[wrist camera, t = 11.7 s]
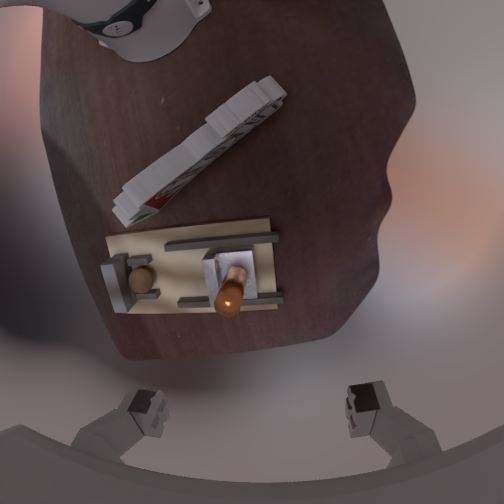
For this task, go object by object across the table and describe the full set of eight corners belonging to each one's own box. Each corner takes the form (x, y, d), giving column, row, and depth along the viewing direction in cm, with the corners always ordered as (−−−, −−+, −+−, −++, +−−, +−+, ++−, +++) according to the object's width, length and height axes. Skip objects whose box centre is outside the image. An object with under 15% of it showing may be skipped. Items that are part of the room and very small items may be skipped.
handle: (209, 248, 41) (188, 279, 31) (253, 245, 40) (245, 275, 30) (216, 293, 43) (200, 332, 33) (258, 290, 42) (253, 331, 32)
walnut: (132, 264, 43) (121, 274, 39) (154, 262, 42) (144, 272, 39) (138, 287, 44) (128, 298, 40) (160, 286, 44) (150, 297, 40)
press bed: (109, 234, 43) (88, 246, 37) (276, 215, 40) (276, 226, 34) (130, 309, 47) (114, 328, 42) (284, 304, 44) (284, 326, 38)
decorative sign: (267, 96, 36) (274, 58, 22) (279, 110, 37) (293, 78, 23) (146, 199, 41) (96, 215, 26) (157, 213, 41) (112, 235, 27)
